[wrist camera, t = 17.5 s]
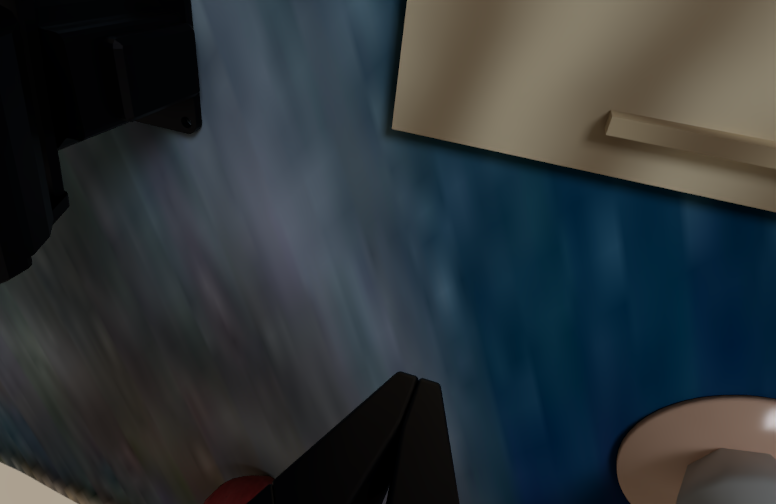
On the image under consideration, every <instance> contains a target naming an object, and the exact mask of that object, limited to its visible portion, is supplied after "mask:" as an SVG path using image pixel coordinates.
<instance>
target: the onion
mask: <svg viewBox="0 0 776 504" xmlns="http://www.w3.org/2000/svg"><path fill="white" fill-rule="evenodd" d="M273 480H274V478H272V477H271V476H254V475H251V476H243V477H238V478H234V479H231V480H229V481H227V482H225V483H224V484H222V485H221V486H220V487H219V488H218V489H216V490H215V491H214V492H213V493H212V494H211V495H210V496H209V497H208V498H207V499H206V500H205V502H204V504H246V503H247V502H249V501H250V500H251V499H252V498H253V497H255V496H256V495H257V494H258V493H259V492H260V491H261V490H263V489H264V488H265V487H266V486H267V485H268V484H272V482H273Z"/></svg>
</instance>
